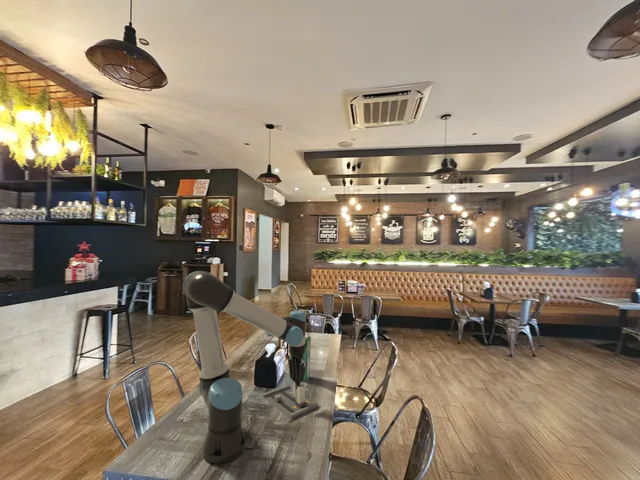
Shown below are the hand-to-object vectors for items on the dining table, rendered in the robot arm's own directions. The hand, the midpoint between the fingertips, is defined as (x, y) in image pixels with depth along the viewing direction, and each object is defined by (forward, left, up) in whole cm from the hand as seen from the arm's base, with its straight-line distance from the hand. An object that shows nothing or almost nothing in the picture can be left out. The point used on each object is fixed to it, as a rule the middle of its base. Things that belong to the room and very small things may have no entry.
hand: (296, 394), depth 139 cm
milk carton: (+18, +20, -5) cm, 28 cm away
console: (-2, +2, -5) cm, 6 cm away
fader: (0, -4, -3) cm, 5 cm away
